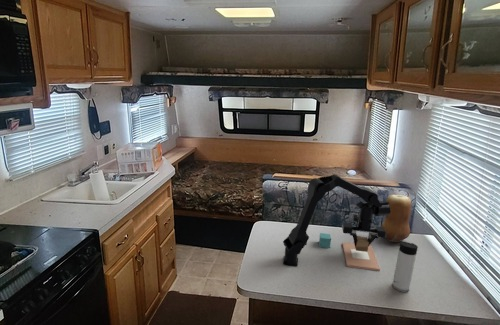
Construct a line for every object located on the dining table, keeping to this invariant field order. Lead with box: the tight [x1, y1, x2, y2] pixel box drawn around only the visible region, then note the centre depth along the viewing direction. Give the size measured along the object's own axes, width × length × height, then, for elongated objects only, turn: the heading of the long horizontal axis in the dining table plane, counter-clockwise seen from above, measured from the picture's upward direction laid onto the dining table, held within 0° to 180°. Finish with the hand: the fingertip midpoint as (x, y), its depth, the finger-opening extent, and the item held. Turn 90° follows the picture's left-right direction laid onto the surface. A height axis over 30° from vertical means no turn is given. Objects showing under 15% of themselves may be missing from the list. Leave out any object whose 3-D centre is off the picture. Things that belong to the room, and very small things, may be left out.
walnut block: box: [355, 235, 369, 252], centre depth 148 cm, size 5×5×5 cm
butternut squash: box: [381, 194, 412, 243], centre depth 162 cm, size 14×13×25 cm
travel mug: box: [391, 241, 419, 293], centre depth 126 cm, size 6×7×20 cm
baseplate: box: [341, 241, 381, 271], centre depth 150 cm, size 20×14×1 cm
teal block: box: [318, 232, 332, 249], centre depth 158 cm, size 5×5×5 cm
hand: (361, 246), depth 148 cm, fingers closed on walnut block, 5 cm apart
